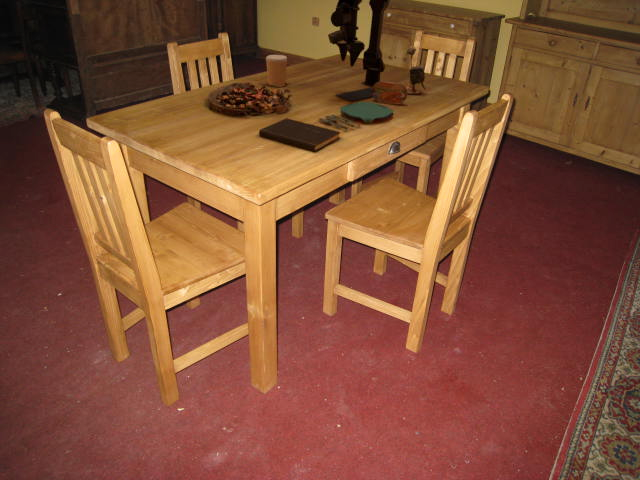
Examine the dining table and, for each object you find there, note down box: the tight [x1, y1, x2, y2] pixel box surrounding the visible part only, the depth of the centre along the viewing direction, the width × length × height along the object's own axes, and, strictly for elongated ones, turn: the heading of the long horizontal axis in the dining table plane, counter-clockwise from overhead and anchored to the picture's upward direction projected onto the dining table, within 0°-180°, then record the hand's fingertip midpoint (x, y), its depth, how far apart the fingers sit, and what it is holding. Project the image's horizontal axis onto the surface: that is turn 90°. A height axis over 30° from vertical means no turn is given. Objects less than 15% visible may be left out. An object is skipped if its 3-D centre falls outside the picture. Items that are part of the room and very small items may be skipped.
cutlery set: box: [318, 101, 394, 131], centre depth 196 cm, size 20×30×2 cm, turn 134°
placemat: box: [335, 87, 373, 103], centre depth 223 cm, size 20×10×1 cm, turn 130°
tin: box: [371, 80, 408, 106], centre depth 213 cm, size 15×3×8 cm, turn 65°
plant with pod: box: [405, 45, 426, 95], centre depth 223 cm, size 8×11×20 cm
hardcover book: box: [258, 117, 341, 152], centre depth 177 cm, size 16×23×2 cm
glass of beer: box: [265, 54, 288, 88], centre depth 229 cm, size 9×9×12 cm
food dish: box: [206, 82, 293, 117], centre depth 205 cm, size 35×33×8 cm
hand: (347, 63), depth 213 cm, fingers open, 9 cm apart
